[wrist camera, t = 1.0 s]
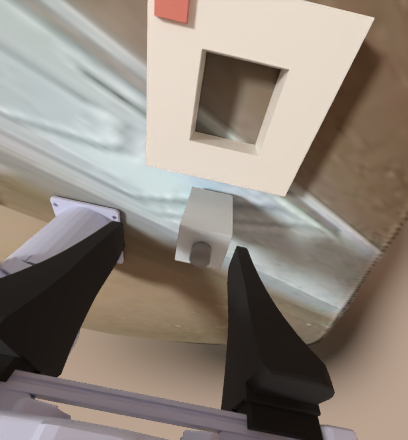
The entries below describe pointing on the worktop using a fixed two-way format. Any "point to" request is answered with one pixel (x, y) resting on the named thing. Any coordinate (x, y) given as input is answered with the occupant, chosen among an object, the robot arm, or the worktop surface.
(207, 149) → the socket box
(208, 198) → the plug
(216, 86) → the worktop surface
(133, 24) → the worktop surface
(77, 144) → the worktop surface
